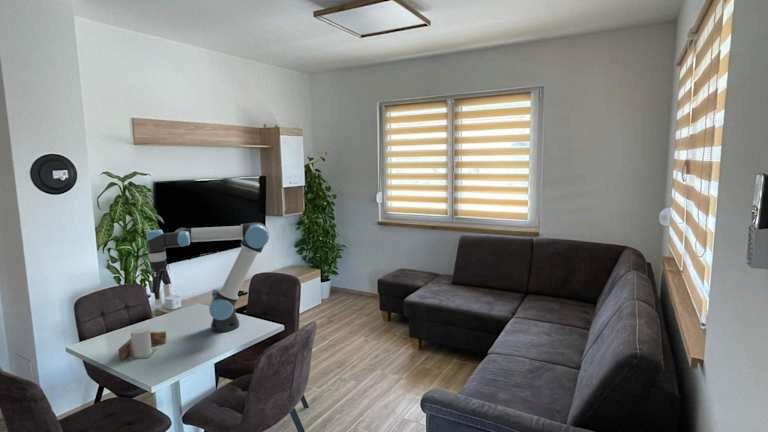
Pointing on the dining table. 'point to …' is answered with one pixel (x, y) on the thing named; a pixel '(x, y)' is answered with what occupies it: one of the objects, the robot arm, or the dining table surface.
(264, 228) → the robot arm
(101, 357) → the dining table surface
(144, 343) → the cup
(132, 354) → the pad
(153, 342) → the brown wooden l-shaped wall
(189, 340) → the dining table surface
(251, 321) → the dining table surface
